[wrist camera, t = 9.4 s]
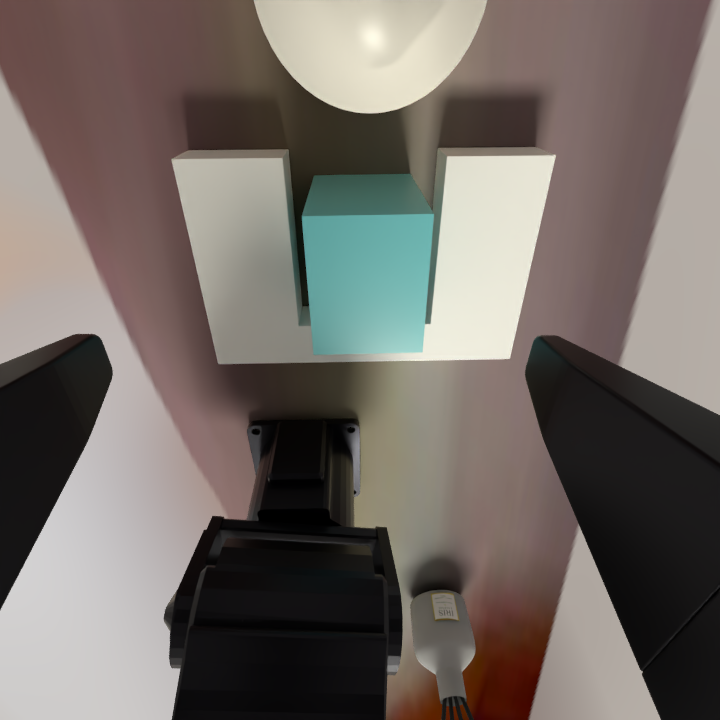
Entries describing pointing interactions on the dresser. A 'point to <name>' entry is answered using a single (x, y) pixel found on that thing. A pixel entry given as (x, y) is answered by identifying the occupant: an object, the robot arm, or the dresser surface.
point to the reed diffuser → (444, 644)
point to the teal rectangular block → (367, 263)
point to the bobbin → (370, 47)
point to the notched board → (281, 266)
